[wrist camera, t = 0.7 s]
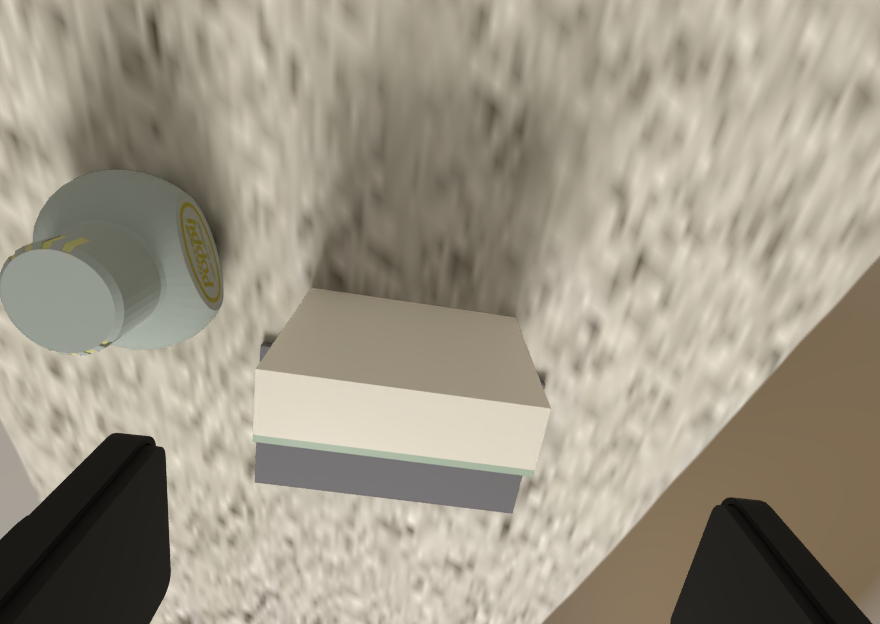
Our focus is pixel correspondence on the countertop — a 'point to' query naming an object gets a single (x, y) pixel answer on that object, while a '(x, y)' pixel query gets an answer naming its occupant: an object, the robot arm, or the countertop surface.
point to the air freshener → (114, 267)
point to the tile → (402, 384)
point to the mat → (384, 476)
